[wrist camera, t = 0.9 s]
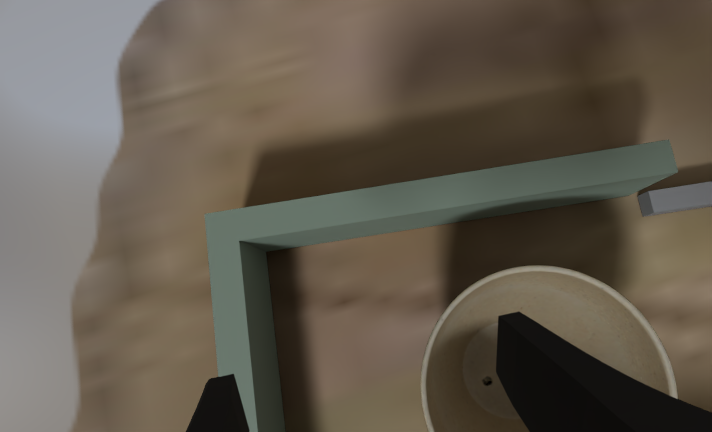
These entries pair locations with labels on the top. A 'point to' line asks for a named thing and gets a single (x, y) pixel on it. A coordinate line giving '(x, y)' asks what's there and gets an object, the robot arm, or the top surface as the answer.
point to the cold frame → (378, 216)
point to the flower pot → (548, 308)
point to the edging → (676, 199)
